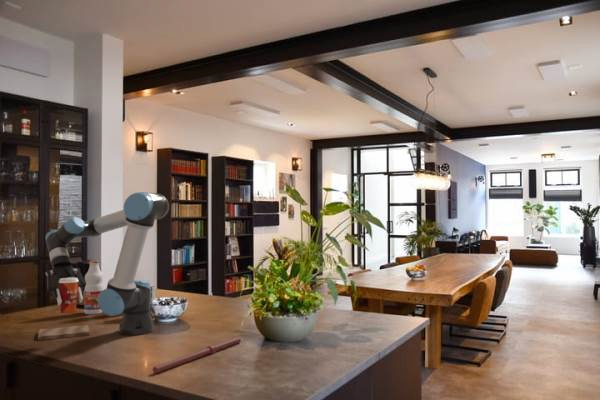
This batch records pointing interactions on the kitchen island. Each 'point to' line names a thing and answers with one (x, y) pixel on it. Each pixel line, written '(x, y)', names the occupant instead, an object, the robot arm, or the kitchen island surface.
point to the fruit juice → (93, 288)
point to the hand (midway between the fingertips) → (70, 302)
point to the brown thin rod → (195, 355)
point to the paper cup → (68, 294)
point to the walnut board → (63, 332)
